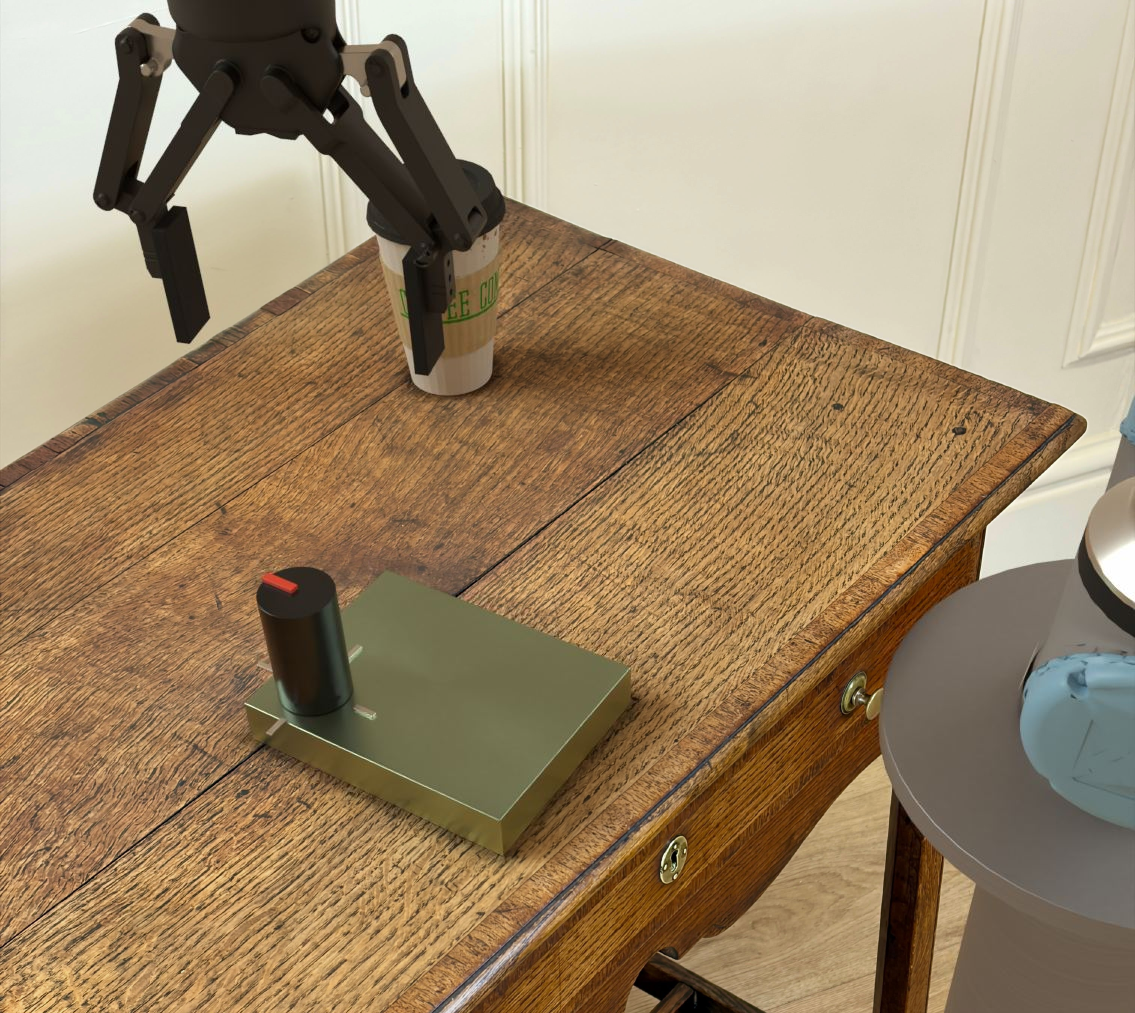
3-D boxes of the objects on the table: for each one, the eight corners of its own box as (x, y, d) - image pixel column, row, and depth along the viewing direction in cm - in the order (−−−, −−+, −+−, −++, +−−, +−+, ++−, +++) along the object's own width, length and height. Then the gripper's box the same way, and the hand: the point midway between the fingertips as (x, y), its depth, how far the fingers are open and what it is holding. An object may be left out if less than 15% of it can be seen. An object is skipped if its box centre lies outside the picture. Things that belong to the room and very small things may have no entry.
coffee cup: (459, 424, 116) (441, 235, 105) (360, 381, 121) (333, 195, 110) (542, 363, 122) (533, 176, 111) (444, 324, 126) (426, 140, 115)
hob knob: (368, 680, 94) (351, 578, 88) (321, 726, 91) (301, 624, 85) (309, 654, 95) (289, 552, 90) (262, 698, 93) (238, 597, 87)
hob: (631, 703, 96) (631, 665, 94) (490, 872, 87) (486, 835, 85) (375, 598, 103) (369, 560, 101) (221, 744, 95) (210, 706, 92)
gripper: (535, -90, 70) (553, 336, 85) (26, -125, 75) (130, 283, 90) (483, -25, 65) (512, 415, 80) (-58, -67, 70) (67, 354, 85)
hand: (310, 346), depth 85 cm, fingers open, 13 cm apart
